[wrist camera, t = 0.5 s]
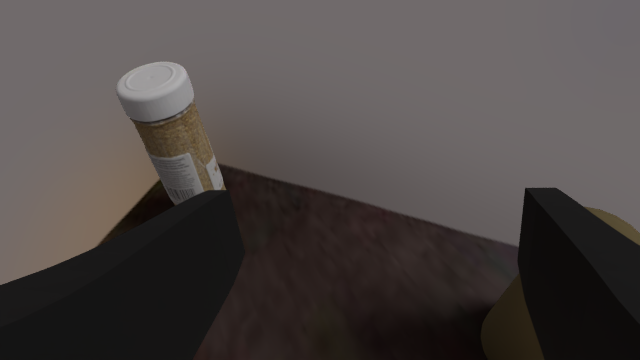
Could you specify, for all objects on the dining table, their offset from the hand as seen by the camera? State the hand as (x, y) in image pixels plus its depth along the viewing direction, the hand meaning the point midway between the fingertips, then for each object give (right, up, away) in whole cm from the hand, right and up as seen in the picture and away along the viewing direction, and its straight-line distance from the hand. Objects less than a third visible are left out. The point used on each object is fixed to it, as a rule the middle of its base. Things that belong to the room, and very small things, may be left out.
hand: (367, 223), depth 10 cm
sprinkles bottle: (-11, -2, +26) cm, 28 cm away
